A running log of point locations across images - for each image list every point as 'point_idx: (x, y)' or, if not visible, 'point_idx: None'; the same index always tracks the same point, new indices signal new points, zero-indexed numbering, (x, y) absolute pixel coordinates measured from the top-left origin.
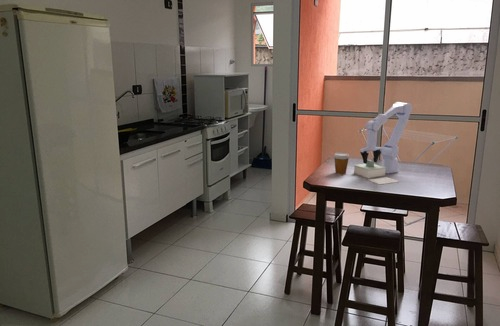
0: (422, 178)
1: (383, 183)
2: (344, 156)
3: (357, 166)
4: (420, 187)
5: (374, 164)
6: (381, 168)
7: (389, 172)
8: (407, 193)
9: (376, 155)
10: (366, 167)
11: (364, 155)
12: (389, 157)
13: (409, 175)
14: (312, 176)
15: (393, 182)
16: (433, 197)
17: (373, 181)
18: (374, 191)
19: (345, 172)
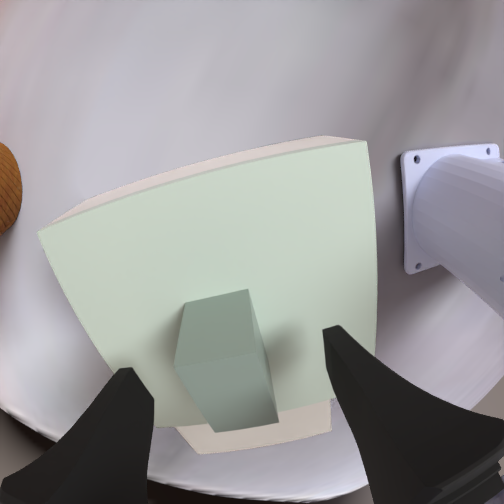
0: (472, 366)
1: (222, 451)
2: None
3: (67, 289)
4: (353, 461)
5: (353, 253)
6: (318, 399)
7: (431, 265)
8: (258, 493)
9: (368, 462)
10: (160, 374)
11: (94, 486)
12: None
13: (478, 318)
14: None
15: (291, 439)
16: (309, 499)
17: (179, 429)
18: (148, 478)
19: (9, 225)
